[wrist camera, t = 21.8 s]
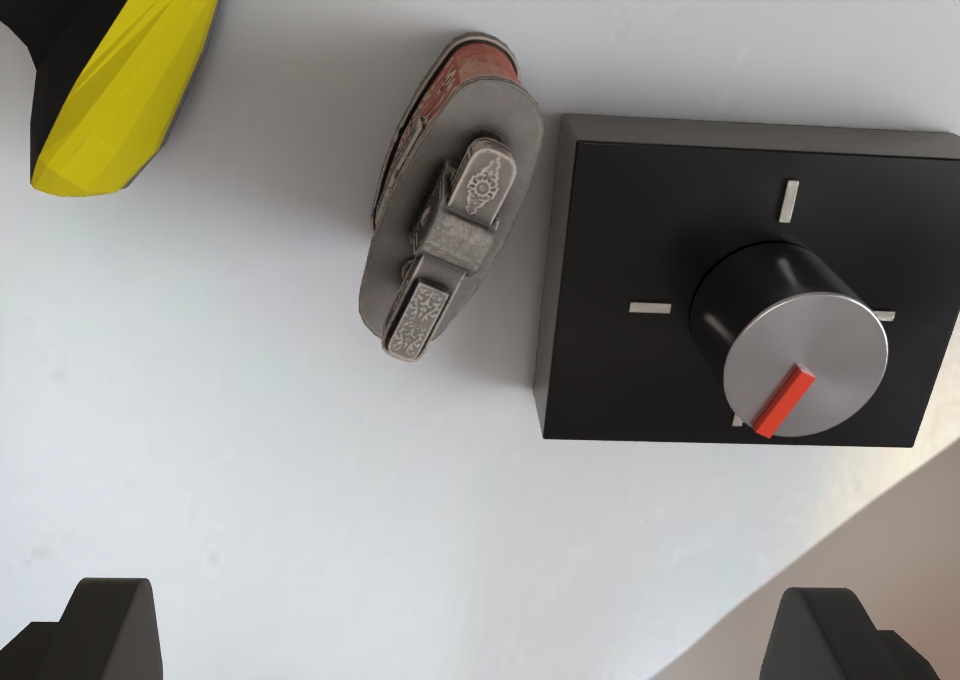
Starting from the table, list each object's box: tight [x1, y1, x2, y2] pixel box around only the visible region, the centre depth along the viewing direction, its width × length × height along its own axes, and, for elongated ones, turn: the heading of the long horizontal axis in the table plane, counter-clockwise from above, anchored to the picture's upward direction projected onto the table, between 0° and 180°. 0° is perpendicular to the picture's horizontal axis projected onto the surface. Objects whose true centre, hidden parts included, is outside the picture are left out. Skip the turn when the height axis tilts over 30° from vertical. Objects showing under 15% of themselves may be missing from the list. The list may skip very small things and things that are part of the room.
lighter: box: [359, 32, 544, 362], centre depth 27 cm, size 8×3×10 cm, turn 154°
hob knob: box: [690, 243, 888, 438], centre depth 29 cm, size 5×5×4 cm
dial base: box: [533, 114, 960, 448], centre depth 32 cm, size 14×11×4 cm
